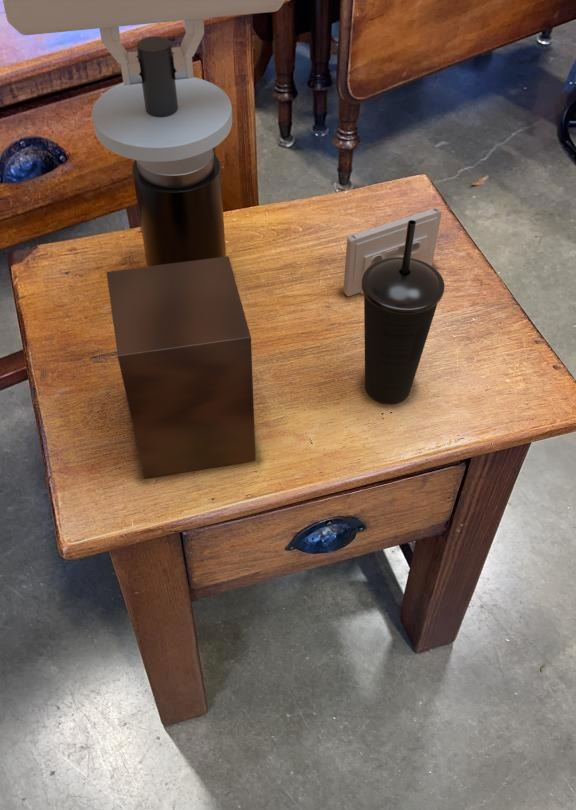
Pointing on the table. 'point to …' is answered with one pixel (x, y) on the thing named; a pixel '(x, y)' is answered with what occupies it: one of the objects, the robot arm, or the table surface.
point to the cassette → (389, 246)
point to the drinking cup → (397, 321)
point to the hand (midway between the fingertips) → (158, 78)
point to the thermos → (180, 209)
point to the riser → (185, 364)
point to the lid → (161, 111)
